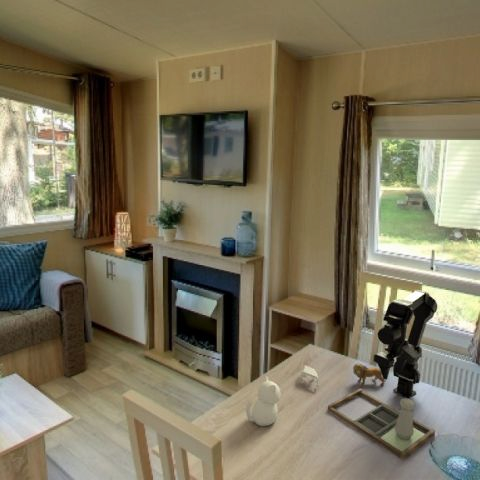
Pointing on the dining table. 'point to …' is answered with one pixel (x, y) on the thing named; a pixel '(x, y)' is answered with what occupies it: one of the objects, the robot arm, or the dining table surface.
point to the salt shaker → (405, 420)
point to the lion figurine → (367, 373)
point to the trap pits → (378, 420)
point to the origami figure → (309, 372)
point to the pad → (400, 443)
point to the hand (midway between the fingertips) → (392, 375)
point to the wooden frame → (402, 455)
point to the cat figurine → (265, 404)
